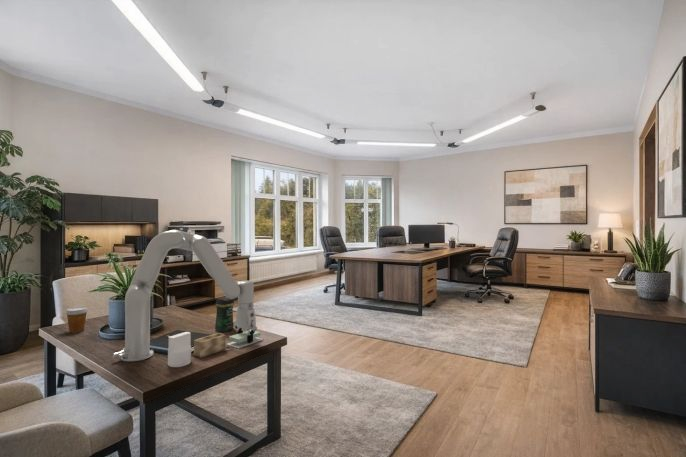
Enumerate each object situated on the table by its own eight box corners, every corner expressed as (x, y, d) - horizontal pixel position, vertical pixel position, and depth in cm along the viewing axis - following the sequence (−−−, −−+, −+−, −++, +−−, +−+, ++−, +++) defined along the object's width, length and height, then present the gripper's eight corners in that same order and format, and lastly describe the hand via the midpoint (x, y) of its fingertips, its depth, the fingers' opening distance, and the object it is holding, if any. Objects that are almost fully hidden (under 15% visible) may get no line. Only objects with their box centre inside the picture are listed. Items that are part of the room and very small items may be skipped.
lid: (238, 343, 172) (238, 339, 171) (229, 340, 175) (229, 336, 175) (260, 335, 183) (260, 332, 183) (250, 333, 187) (251, 329, 187)
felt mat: (238, 348, 170) (238, 347, 170) (226, 344, 175) (226, 343, 175) (263, 339, 183) (263, 339, 183) (251, 336, 188) (251, 335, 188)
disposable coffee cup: (70, 328, 195) (70, 307, 194) (90, 327, 198) (90, 306, 197) (62, 334, 186) (62, 311, 185) (83, 332, 188) (83, 310, 188)
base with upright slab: (176, 368, 146) (177, 339, 146) (163, 364, 150) (163, 335, 150) (195, 361, 154) (195, 333, 154) (181, 357, 158) (182, 330, 158)
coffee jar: (223, 333, 193) (223, 299, 193) (212, 330, 196) (213, 297, 196) (236, 328, 202) (236, 295, 201) (225, 326, 205) (226, 294, 205)
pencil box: (200, 357, 158) (200, 342, 158) (194, 355, 161) (194, 339, 161) (225, 349, 169) (225, 334, 169) (218, 347, 171) (218, 332, 171)
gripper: (263, 306, 177) (262, 342, 178) (239, 301, 187) (239, 335, 187) (251, 309, 171) (251, 346, 171) (228, 304, 181) (227, 339, 181)
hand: (244, 340), depth 179 cm, fingers closed on lid, 6 cm apart
